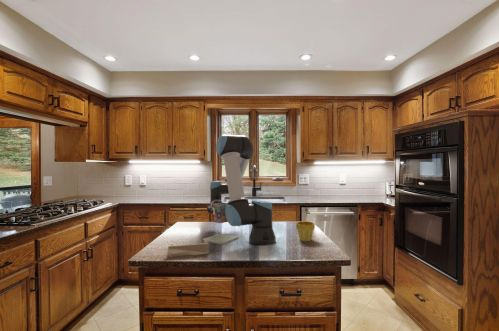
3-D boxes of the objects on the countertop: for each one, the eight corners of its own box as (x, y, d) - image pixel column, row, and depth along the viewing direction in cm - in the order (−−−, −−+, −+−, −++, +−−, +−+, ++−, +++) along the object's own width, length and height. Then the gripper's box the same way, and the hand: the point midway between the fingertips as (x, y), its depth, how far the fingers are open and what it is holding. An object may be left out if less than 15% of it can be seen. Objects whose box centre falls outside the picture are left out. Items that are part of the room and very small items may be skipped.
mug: (229, 223, 157) (229, 204, 157) (212, 224, 156) (212, 205, 156) (228, 219, 169) (227, 202, 169) (212, 219, 168) (212, 202, 167)
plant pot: (313, 243, 153) (313, 225, 152) (295, 241, 156) (294, 224, 156) (315, 238, 162) (315, 221, 162) (297, 236, 166) (297, 220, 166)
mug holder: (170, 246, 151) (170, 236, 151) (206, 243, 155) (206, 234, 155) (168, 256, 133) (168, 246, 133) (208, 253, 137) (208, 243, 137)
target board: (238, 238, 164) (238, 236, 164) (223, 244, 152) (223, 242, 152) (219, 235, 172) (219, 233, 172) (202, 240, 160) (202, 239, 160)
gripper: (232, 210, 182) (239, 217, 160) (201, 212, 178) (203, 219, 155) (232, 199, 182) (238, 204, 159) (201, 200, 177) (203, 206, 155)
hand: (221, 212), depth 157 cm, fingers closed on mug, 7 cm apart
